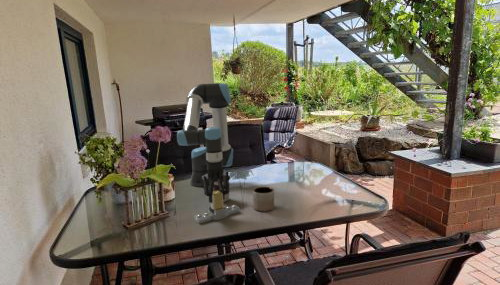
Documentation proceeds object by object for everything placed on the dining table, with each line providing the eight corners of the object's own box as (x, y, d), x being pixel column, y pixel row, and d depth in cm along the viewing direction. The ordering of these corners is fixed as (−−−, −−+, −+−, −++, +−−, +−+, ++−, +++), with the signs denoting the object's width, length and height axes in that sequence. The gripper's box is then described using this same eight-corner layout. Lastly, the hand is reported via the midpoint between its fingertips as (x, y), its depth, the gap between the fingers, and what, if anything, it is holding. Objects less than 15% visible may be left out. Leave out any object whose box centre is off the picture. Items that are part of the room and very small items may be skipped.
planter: (259, 213, 156) (259, 195, 154) (249, 206, 165) (249, 188, 163) (278, 209, 161) (278, 190, 159) (267, 202, 170) (267, 185, 168)
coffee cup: (233, 197, 179) (232, 171, 176) (226, 204, 169) (225, 177, 167) (217, 196, 182) (216, 170, 179) (210, 202, 173) (208, 175, 170)
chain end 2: (214, 213, 158) (213, 204, 157) (233, 208, 163) (232, 199, 163) (221, 218, 151) (221, 209, 150) (241, 213, 157) (240, 204, 156)
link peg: (211, 207, 154) (210, 192, 153) (219, 206, 156) (218, 190, 155) (215, 210, 151) (214, 194, 149) (222, 208, 153) (222, 192, 151)
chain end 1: (193, 218, 152) (192, 210, 151) (214, 213, 158) (213, 204, 157) (200, 224, 145) (199, 215, 144) (221, 218, 151) (221, 209, 150)
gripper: (201, 164, 142) (204, 214, 146) (234, 159, 151) (236, 205, 155) (194, 161, 148) (197, 209, 152) (226, 156, 157) (228, 201, 161)
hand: (217, 207), depth 153 cm, fingers closed on link peg, 4 cm apart
